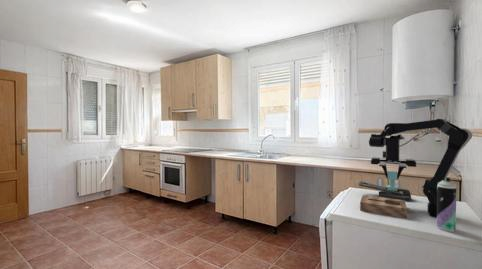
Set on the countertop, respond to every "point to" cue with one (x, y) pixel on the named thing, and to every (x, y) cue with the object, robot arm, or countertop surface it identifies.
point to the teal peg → (392, 180)
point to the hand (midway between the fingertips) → (392, 178)
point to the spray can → (446, 205)
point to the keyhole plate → (383, 206)
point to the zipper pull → (389, 192)
